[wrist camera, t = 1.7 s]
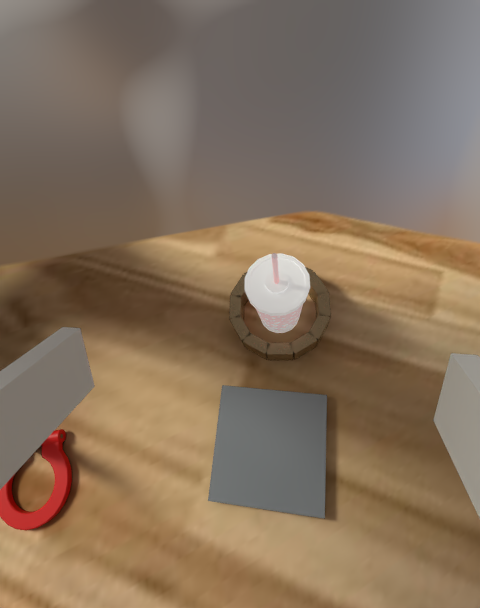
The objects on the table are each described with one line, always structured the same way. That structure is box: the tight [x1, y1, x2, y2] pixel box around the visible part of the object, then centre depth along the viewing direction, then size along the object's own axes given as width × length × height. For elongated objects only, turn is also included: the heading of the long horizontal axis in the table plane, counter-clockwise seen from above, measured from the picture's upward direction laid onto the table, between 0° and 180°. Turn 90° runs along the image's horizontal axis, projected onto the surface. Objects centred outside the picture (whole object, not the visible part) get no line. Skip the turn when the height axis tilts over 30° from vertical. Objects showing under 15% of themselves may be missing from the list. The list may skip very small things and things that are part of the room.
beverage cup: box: [245, 253, 310, 333], centre depth 33 cm, size 6×6×14 cm
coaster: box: [208, 385, 327, 519], centre depth 34 cm, size 11×11×1 cm
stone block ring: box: [230, 267, 331, 360], centre depth 38 cm, size 11×11×3 cm
